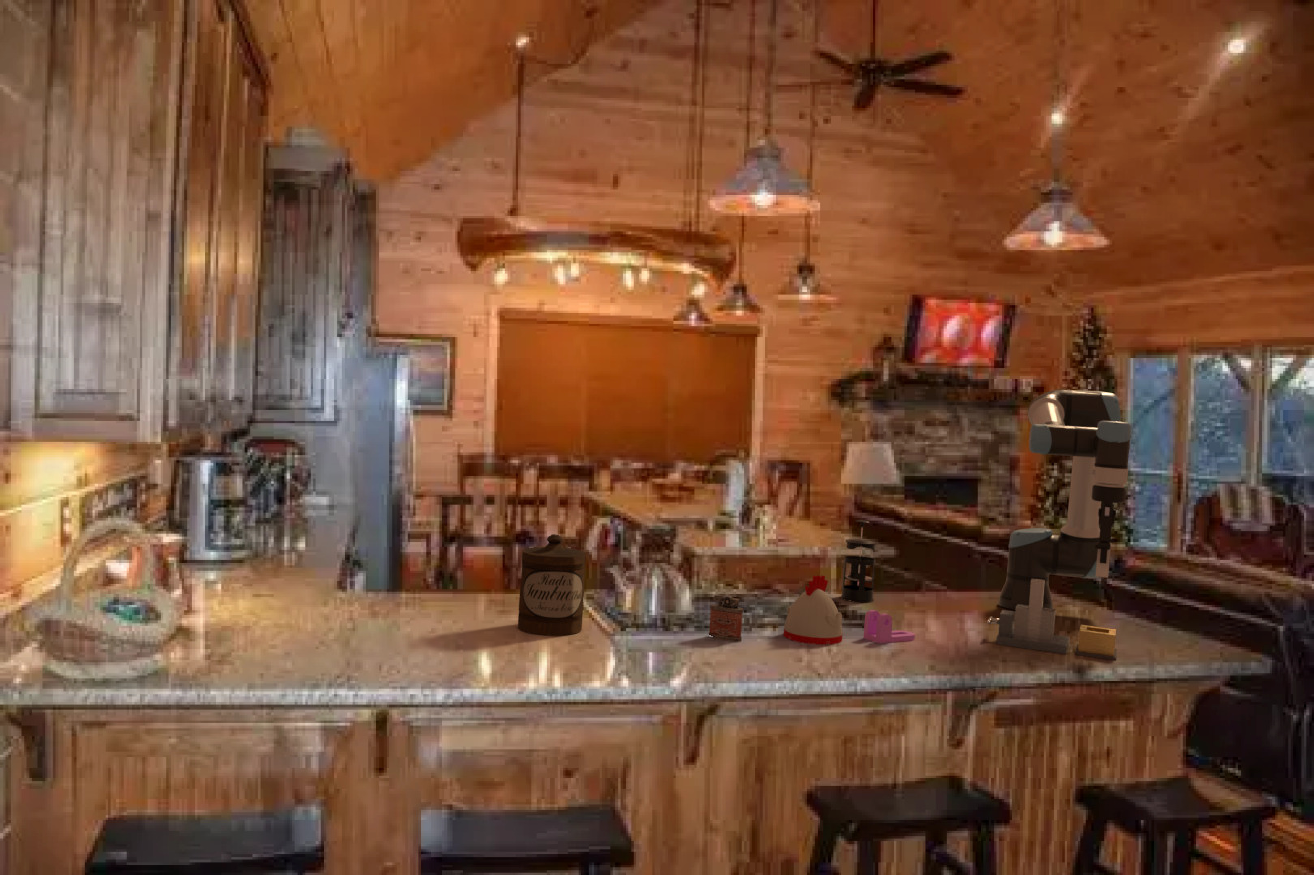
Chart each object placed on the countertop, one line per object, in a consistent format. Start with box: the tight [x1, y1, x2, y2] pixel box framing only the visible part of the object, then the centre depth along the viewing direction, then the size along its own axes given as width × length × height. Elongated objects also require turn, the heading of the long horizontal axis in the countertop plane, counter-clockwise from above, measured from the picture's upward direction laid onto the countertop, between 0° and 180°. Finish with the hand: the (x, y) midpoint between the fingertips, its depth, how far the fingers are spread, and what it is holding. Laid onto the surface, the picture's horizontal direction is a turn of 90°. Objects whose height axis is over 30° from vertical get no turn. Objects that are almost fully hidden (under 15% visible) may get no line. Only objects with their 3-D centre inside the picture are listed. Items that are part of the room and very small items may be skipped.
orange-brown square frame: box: [1078, 624, 1117, 656], centre depth 264 cm, size 8×8×5 cm
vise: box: [986, 579, 1070, 655], centre depth 270 cm, size 12×19×16 cm, turn 67°
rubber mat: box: [1075, 643, 1117, 661], centre depth 264 cm, size 11×9×1 cm
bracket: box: [863, 609, 916, 644], centre depth 266 cm, size 13×6×7 cm, turn 121°
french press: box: [840, 519, 878, 603], centre depth 317 cm, size 12×9×23 cm
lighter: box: [708, 594, 744, 643], centre depth 254 cm, size 8×3×10 cm, turn 65°
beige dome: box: [783, 575, 843, 646], centre depth 261 cm, size 14×14×15 cm
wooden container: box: [517, 533, 586, 637], centre depth 253 cm, size 15×15×22 cm
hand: (1102, 572), depth 264 cm, fingers open, 13 cm apart
